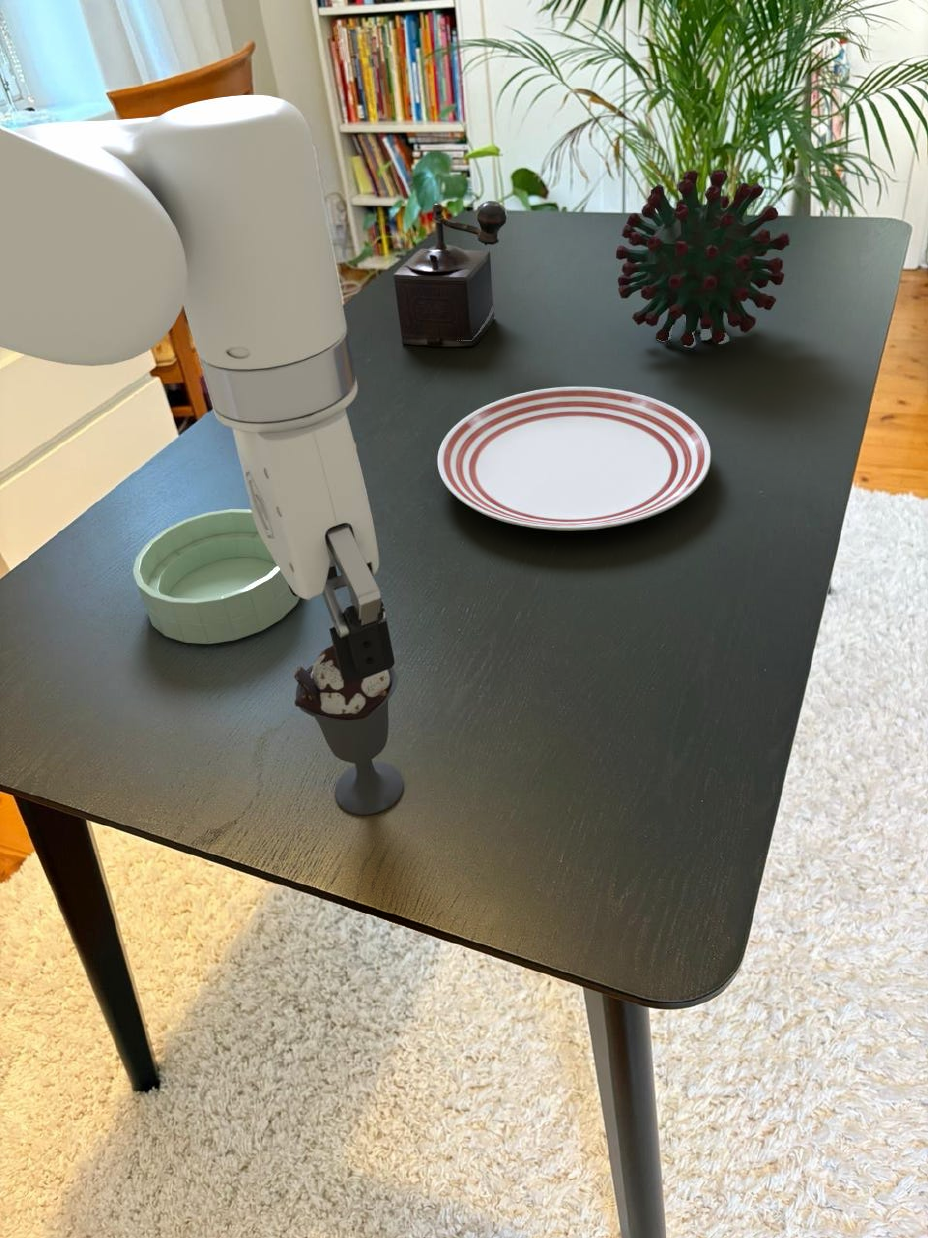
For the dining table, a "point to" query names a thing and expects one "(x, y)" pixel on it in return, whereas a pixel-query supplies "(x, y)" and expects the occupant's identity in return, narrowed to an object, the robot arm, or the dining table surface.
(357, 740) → the sundae
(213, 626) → the bowl
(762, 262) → the virus model
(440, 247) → the coffee grinder
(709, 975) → the dining table surface
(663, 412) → the dinner plate
